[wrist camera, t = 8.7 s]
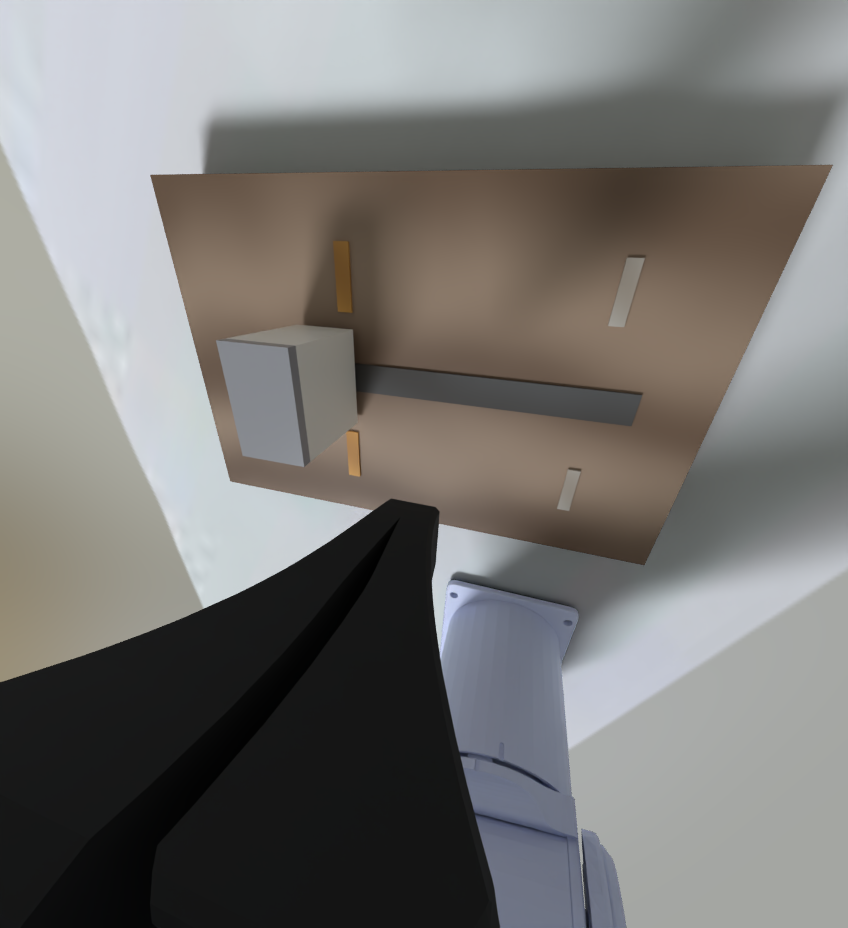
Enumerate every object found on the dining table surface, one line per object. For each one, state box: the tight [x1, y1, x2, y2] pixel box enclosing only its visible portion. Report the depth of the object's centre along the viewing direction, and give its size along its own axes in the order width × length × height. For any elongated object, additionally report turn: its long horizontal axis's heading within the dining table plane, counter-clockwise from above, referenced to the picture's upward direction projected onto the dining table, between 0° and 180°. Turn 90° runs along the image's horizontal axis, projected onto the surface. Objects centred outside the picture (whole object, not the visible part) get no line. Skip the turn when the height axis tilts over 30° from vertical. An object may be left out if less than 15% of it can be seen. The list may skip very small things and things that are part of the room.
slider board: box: [150, 165, 833, 565], centre depth 16 cm, size 14×22×3 cm, turn 87°
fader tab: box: [216, 325, 358, 467], centre depth 13 cm, size 4×2×4 cm, turn 177°
